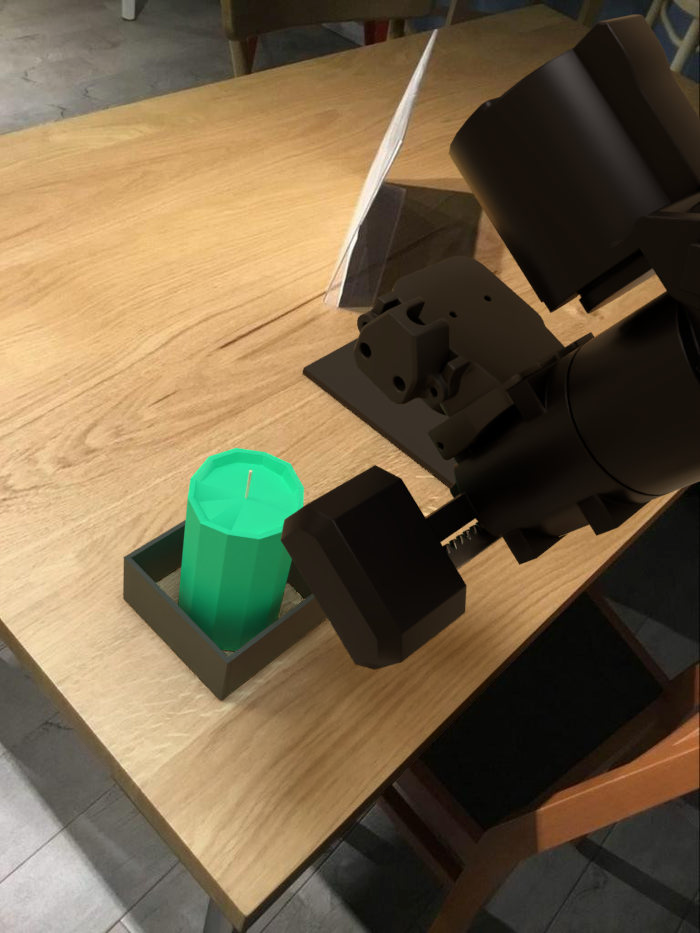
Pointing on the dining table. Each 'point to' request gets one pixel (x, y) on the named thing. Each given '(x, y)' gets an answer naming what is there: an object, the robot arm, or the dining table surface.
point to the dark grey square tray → (189, 638)
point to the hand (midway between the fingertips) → (393, 537)
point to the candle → (237, 544)
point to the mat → (383, 410)
